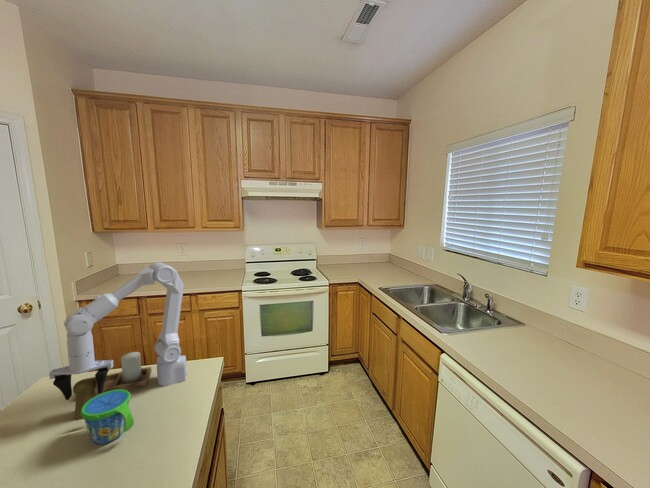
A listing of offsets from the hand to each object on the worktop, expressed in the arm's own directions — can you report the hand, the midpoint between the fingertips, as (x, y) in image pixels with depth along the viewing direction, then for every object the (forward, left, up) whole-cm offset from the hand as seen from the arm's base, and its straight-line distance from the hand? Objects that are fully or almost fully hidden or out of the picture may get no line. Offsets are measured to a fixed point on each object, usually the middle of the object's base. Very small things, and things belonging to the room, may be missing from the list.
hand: (85, 394), depth 82 cm
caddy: (-5, -13, -7) cm, 15 cm away
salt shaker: (-9, -13, -6) cm, 17 cm away
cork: (0, 0, -7) cm, 7 cm away
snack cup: (-9, +12, -7) cm, 16 cm away
